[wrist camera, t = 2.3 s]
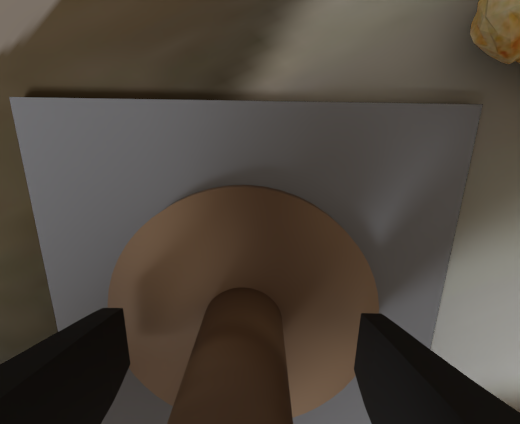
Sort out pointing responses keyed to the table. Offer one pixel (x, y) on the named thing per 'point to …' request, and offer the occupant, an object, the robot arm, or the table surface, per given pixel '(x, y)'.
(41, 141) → the mat
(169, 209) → the lid
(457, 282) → the table surface
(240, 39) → the table surface
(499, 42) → the croissant
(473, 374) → the table surface
